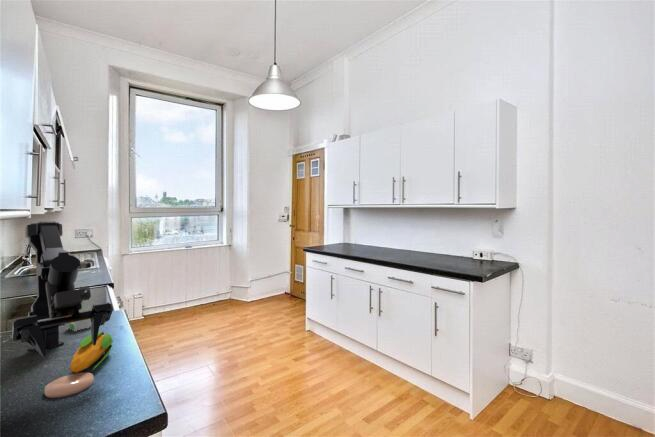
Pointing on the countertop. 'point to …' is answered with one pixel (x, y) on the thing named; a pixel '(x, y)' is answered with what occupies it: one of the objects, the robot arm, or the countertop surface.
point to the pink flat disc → (68, 385)
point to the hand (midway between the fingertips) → (71, 350)
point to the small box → (80, 324)
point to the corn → (91, 352)
